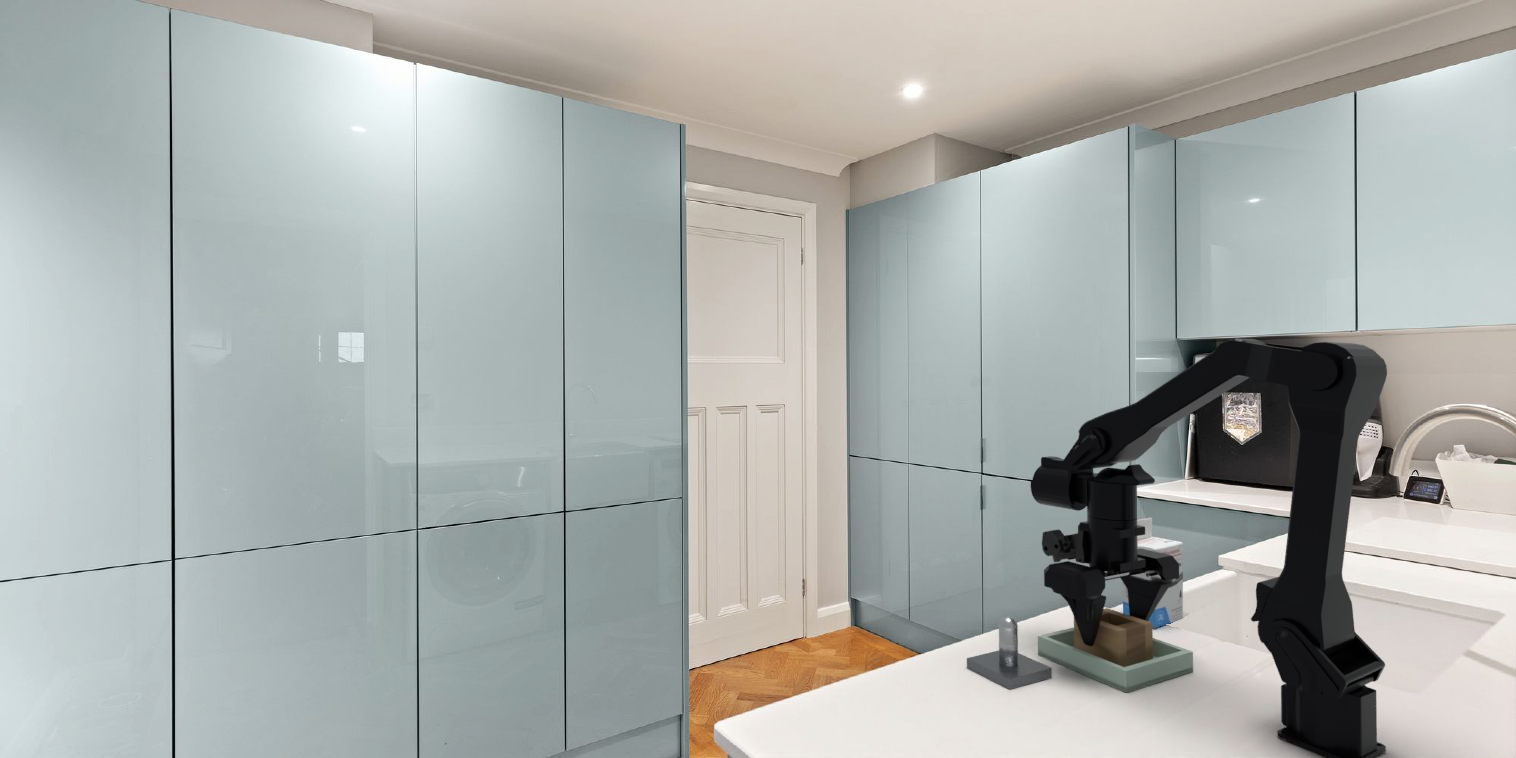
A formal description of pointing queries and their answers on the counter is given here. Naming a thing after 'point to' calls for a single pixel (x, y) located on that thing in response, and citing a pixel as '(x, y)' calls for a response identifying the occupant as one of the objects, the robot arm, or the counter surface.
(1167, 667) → the sage tray
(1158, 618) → the ink box
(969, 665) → the stand
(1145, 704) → the counter surface
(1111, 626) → the walnut block
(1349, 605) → the robot arm
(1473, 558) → the counter surface
